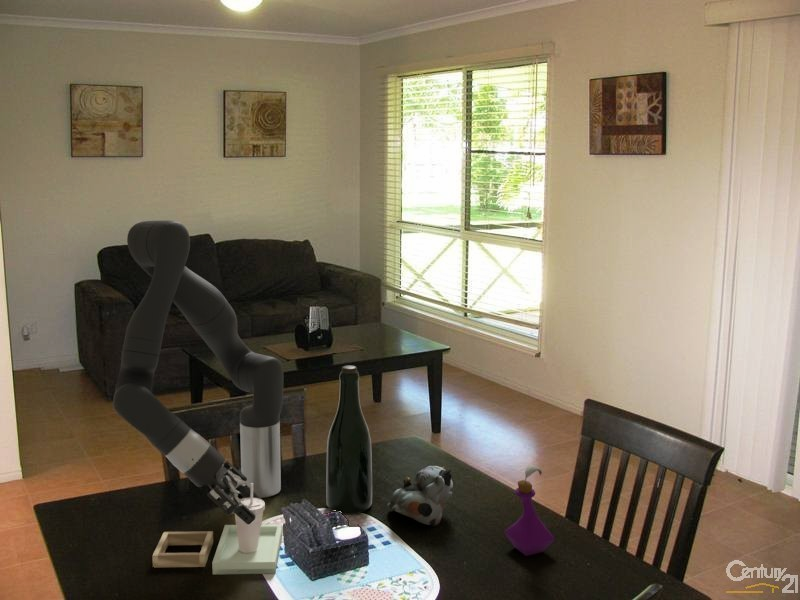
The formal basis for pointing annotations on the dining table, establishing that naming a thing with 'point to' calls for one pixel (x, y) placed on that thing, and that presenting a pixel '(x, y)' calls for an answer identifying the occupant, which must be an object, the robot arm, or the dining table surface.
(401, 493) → the lucky cat figurine
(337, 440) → the green wine bottle
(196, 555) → the collar
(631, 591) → the dining table surface
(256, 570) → the tray
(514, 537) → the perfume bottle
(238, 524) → the smoothie
